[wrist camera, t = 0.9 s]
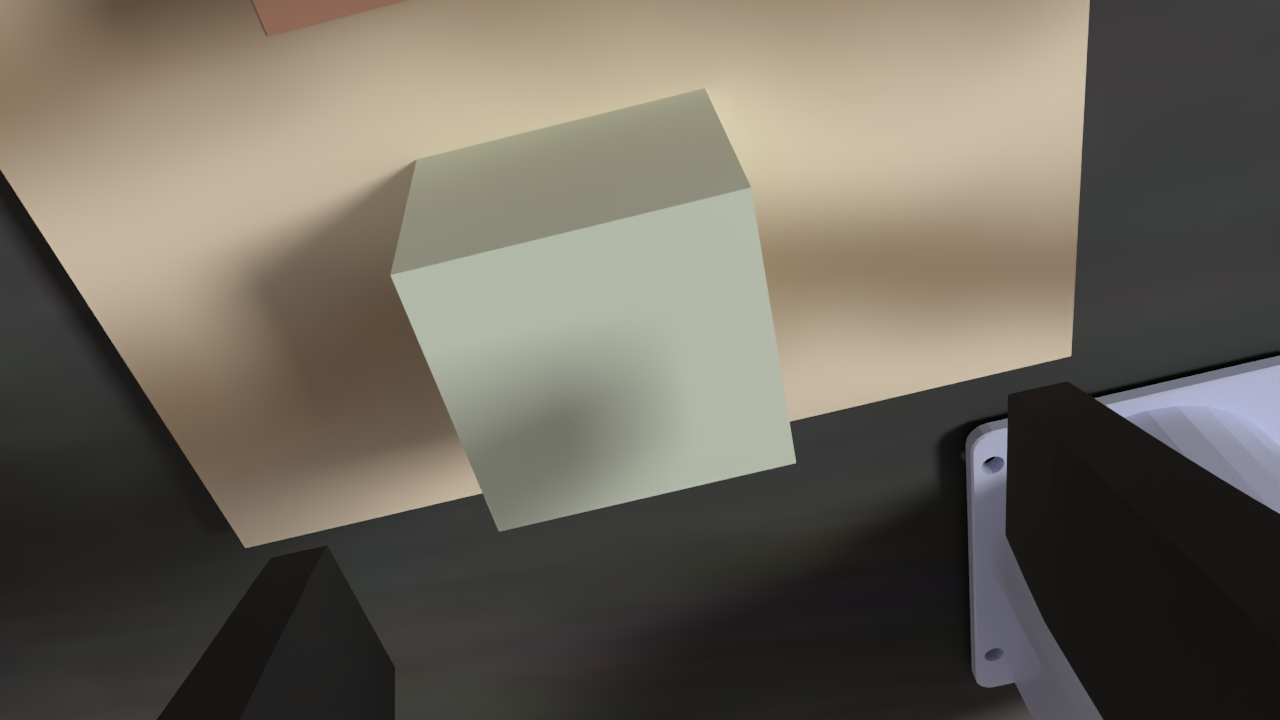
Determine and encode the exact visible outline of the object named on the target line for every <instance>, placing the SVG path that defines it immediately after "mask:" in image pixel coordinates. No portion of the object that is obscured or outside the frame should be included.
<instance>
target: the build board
mask: <svg viewBox="0 0 1280 720" xmlns="http://www.w3.org/2000/svg"><path fill="white" fill-rule="evenodd" d="M1089 3H1090V0H0V170H1V171H2V173H3V174H4V176H5V177H6V179H7V180H8V182H9V183H10V185H11V187H12V188H13V190H14V191H15V193H16V194H17V196H18V197H19V199H20V200H21V202H22V204H23V205H24V207H25V208H26V210H27V211H28V213H29V214H30V216H31V217H32V219H33V221H34V222H35V224H36V225H37V227H38V228H39V230H40V231H41V233H42V234H43V236H44V238H45V239H46V241H47V242H48V244H49V245H50V247H51V248H52V250H53V251H54V253H55V255H56V256H57V258H58V259H59V261H60V262H61V264H62V265H63V267H64V269H65V270H66V272H67V273H68V275H69V276H70V278H71V279H72V281H73V282H74V284H75V286H76V287H77V289H78V290H79V292H80V293H81V295H82V296H83V298H84V299H85V301H86V303H87V304H88V306H89V307H90V309H91V310H92V312H93V313H94V315H95V316H96V318H97V320H98V321H99V323H100V324H101V326H102V327H103V329H104V330H105V332H106V333H107V335H108V337H109V338H110V340H111V341H112V343H113V344H114V346H115V347H116V349H117V350H118V352H119V354H120V355H121V357H122V358H123V360H124V361H125V363H126V364H127V366H128V368H129V369H130V371H131V372H132V374H133V375H134V377H135V378H136V380H137V381H138V383H139V385H140V386H141V388H142V389H143V391H144V392H145V394H146V395H147V397H148V398H149V400H150V402H151V403H152V405H153V406H154V408H155V409H156V411H157V412H158V414H159V415H160V417H161V419H162V420H163V422H164V423H165V425H166V426H167V428H168V429H169V431H170V432H171V434H172V436H173V437H174V439H175V440H176V442H177V443H178V445H179V446H180V448H181V449H182V451H183V453H184V454H185V456H186V457H187V459H188V460H189V462H190V463H191V465H192V467H193V468H194V470H195V471H196V473H197V474H198V476H199V477H200V479H201V480H202V482H203V484H204V485H205V487H206V488H207V490H208V491H209V493H210V494H211V496H212V497H213V499H214V501H215V502H216V504H217V505H218V507H219V508H220V510H221V511H222V513H223V514H224V516H225V518H226V519H227V521H228V522H229V524H230V525H231V527H232V528H233V530H234V531H235V533H236V535H237V536H238V538H239V539H240V541H241V542H242V544H243V545H244V547H245V548H249V547H253V546H257V545H262V544H266V543H270V542H275V541H279V540H283V539H287V538H292V537H296V536H300V535H305V534H309V533H313V532H318V531H322V530H326V529H330V528H335V527H339V526H343V525H348V524H352V523H356V522H361V521H365V520H369V519H373V518H378V517H382V516H386V515H391V514H395V513H399V512H403V511H408V510H412V509H416V508H421V507H425V506H429V505H434V504H438V503H442V502H446V501H451V500H455V499H459V498H464V497H468V496H472V495H477V494H481V493H482V491H481V488H480V486H479V483H478V481H477V479H476V476H475V474H474V472H473V469H472V467H471V465H470V462H469V460H468V457H467V455H466V453H465V450H464V448H463V446H462V443H461V441H460V439H459V436H458V434H457V431H456V429H455V427H454V424H453V422H452V420H451V417H450V415H449V413H448V410H447V408H446V406H445V403H444V401H443V398H442V396H441V394H440V391H439V389H438V387H437V384H436V382H435V380H434V377H433V375H432V372H431V370H430V368H429V365H428V363H427V361H426V358H425V356H424V354H423V351H422V349H421V346H420V344H419V342H418V339H417V337H416V335H415V332H414V330H413V328H412V325H411V323H410V320H409V318H408V316H407V313H406V311H405V309H404V306H403V304H402V302H401V299H400V297H399V294H398V292H397V290H396V287H395V285H394V283H393V280H392V278H391V276H390V274H391V270H392V266H393V261H394V257H395V252H396V248H397V244H398V239H399V235H400V230H401V226H402V222H403V217H404V213H405V208H406V204H407V200H408V195H409V191H410V186H411V182H412V178H413V173H414V169H415V165H416V160H417V159H420V158H424V157H428V156H432V155H436V154H440V153H444V152H448V151H452V150H457V149H461V148H465V147H469V146H473V145H477V144H481V143H485V142H489V141H493V140H497V139H501V138H505V137H509V136H513V135H517V134H521V133H525V132H529V131H533V130H537V129H541V128H545V127H549V126H554V125H558V124H562V123H566V122H570V121H574V120H578V119H582V118H586V117H590V116H594V115H598V114H602V113H606V112H610V111H614V110H618V109H622V108H626V107H630V106H634V105H638V104H642V103H646V102H651V101H655V100H659V99H663V98H667V97H671V96H675V95H679V94H683V93H687V92H691V91H695V90H699V89H703V88H705V89H706V92H707V94H708V96H709V98H710V100H711V102H712V104H713V107H714V109H715V111H716V113H717V115H718V117H719V119H720V122H721V124H722V126H723V128H724V130H725V132H726V134H727V137H728V139H729V141H730V143H731V145H732V147H733V150H734V152H735V154H736V156H737V158H738V160H739V162H740V165H741V167H742V169H743V171H744V173H745V175H746V177H747V180H748V182H749V184H750V186H751V189H752V195H753V201H754V208H755V214H756V220H757V226H758V232H759V238H760V244H761V251H762V257H763V263H764V269H765V275H766V281H767V287H768V294H769V300H770V306H771V312H772V318H773V324H774V330H775V336H776V343H777V349H778V355H779V361H780V367H781V373H782V379H783V386H784V392H785V398H786V404H787V410H788V416H789V422H790V421H794V420H799V419H803V418H807V417H812V416H816V415H820V414H825V413H829V412H833V411H837V410H842V409H846V408H850V407H855V406H859V405H863V404H868V403H872V402H876V401H880V400H885V399H889V398H893V397H898V396H902V395H906V394H911V393H915V392H919V391H923V390H928V389H932V388H936V387H941V386H945V385H949V384H953V383H958V382H962V381H966V380H971V379H975V378H979V377H984V376H988V375H992V374H996V373H1001V372H1005V371H1009V370H1014V369H1018V368H1022V367H1027V366H1031V365H1035V364H1039V363H1044V362H1048V361H1052V360H1057V359H1061V358H1065V357H1069V356H1071V349H1072V330H1073V311H1074V291H1075V272H1076V253H1077V234H1078V215H1079V195H1080V176H1081V157H1082V138H1083V119H1084V99H1085V80H1086V61H1087V42H1088V23H1089Z"/></svg>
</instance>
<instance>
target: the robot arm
mask: <svg viewBox="0 0 1280 720" xmlns="http://www.w3.org/2000/svg"><path fill="white" fill-rule="evenodd" d="M991 457H995V458H994V459H993V460H992V461H989V462H987V463H984V462H985V461H986V460H987V459H989V458H991ZM966 480H967V517H968V553H969V590H970V626H971V663H972V673H973V675H974V677H975V680H976V682H977V684H979V685H980V686H983V687H996V686H1001V685H1005V684H1010V683H1014V682H1015V684H1016V686H1017V688H1018V690H1019V692H1020V694H1021V696H1022V698H1023V700H1024V702H1025V704H1026V706H1027V708H1028V710H1029V712H1030V714H1031V716H1032V718H1033V720H1280V356H1275V357H1271V358H1267V359H1262V360H1258V361H1254V362H1249V363H1245V364H1241V365H1236V366H1232V367H1228V368H1223V369H1219V370H1215V371H1210V372H1206V373H1202V374H1197V375H1193V376H1189V377H1184V378H1180V379H1176V380H1171V381H1167V382H1163V383H1158V384H1154V385H1150V386H1145V387H1141V388H1137V389H1132V390H1128V391H1124V392H1119V393H1115V394H1111V395H1106V396H1102V397H1098V398H1093V397H1091V396H1090V395H1088V394H1087V393H1085V392H1084V391H1082V390H1080V389H1079V388H1077V387H1076V386H1074V385H1072V384H1071V383H1069V382H1063V383H1059V384H1054V385H1050V386H1045V387H1041V388H1036V389H1032V390H1027V391H1023V392H1018V393H1014V394H1009V395H1008V418H1007V419H1002V420H998V421H994V422H989V423H986V424H983V425H980V426H978V427H977V428H975V429H974V430H973V431H972V432H971V433H970V434H969V436H968V437H967V440H966ZM157 720H395V667H394V665H393V663H392V661H391V660H390V658H389V656H388V654H387V652H386V651H385V649H384V647H383V645H382V643H381V642H380V640H379V638H378V636H377V634H376V633H375V631H374V629H373V627H372V625H371V624H370V622H369V620H368V618H367V616H366V615H365V613H364V611H363V609H362V607H361V606H360V604H359V602H358V600H357V598H356V597H355V595H354V593H353V591H352V589H351V588H350V586H349V584H348V582H347V580H346V579H345V577H344V575H343V573H342V571H341V570H340V568H339V566H338V564H337V562H336V561H335V559H334V557H333V555H332V553H331V552H330V550H329V548H328V546H323V547H318V548H314V549H309V550H305V551H300V552H296V553H291V554H287V555H282V556H278V557H273V558H271V559H270V561H269V562H268V563H267V565H266V566H265V567H264V569H263V570H262V571H261V573H260V574H259V575H258V577H257V578H256V580H255V581H254V582H253V584H252V585H251V587H250V588H249V589H248V591H247V592H246V594H245V595H244V596H243V598H242V599H241V601H240V602H239V604H238V605H237V607H236V608H235V609H234V611H233V612H232V614H231V615H230V617H229V618H228V620H227V621H226V622H225V624H224V625H223V627H222V628H221V630H220V631H219V633H218V634H217V635H216V637H215V638H214V640H213V641H212V643H211V644H210V646H209V647H208V648H207V650H206V651H205V653H204V654H203V656H202V657H201V658H200V660H199V661H198V663H197V664H196V666H195V667H194V668H193V670H192V671H191V673H190V674H189V675H188V677H187V678H186V680H185V681H184V682H183V684H182V685H181V687H180V688H179V689H178V691H177V692H176V694H175V695H174V696H173V698H172V699H171V701H170V702H169V703H168V705H167V706H166V708H165V709H164V710H163V712H162V713H161V715H160V716H159V717H158V719H157Z"/></svg>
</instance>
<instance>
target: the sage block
mask: <svg viewBox="0 0 1280 720" xmlns="http://www.w3.org/2000/svg"><path fill="white" fill-rule="evenodd" d="M390 276H391V278H392V280H393V283H394V285H395V287H396V290H397V292H398V294H399V297H400V299H401V302H402V304H403V306H404V309H405V311H406V313H407V316H408V318H409V320H410V323H411V325H412V328H413V330H414V332H415V335H416V337H417V339H418V342H419V344H420V346H421V349H422V351H423V354H424V356H425V358H426V361H427V363H428V365H429V368H430V370H431V372H432V375H433V377H434V380H435V382H436V384H437V387H438V389H439V391H440V394H441V396H442V398H443V401H444V403H445V406H446V408H447V410H448V413H449V415H450V417H451V420H452V422H453V424H454V427H455V429H456V431H457V434H458V436H459V439H460V441H461V443H462V446H463V448H464V450H465V453H466V455H467V457H468V460H469V462H470V465H471V467H472V469H473V472H474V474H475V476H476V479H477V481H478V483H479V486H480V488H481V491H482V493H483V495H484V498H485V500H486V502H487V505H488V507H489V509H490V512H491V514H492V517H493V519H494V521H495V524H496V526H497V528H498V531H504V530H508V529H512V528H517V527H521V526H525V525H530V524H534V523H538V522H543V521H547V520H551V519H556V518H560V517H564V516H569V515H573V514H577V513H582V512H586V511H590V510H595V509H599V508H603V507H608V506H612V505H616V504H621V503H625V502H629V501H634V500H638V499H642V498H647V497H651V496H655V495H660V494H664V493H668V492H673V491H677V490H681V489H686V488H690V487H694V486H699V485H703V484H707V483H712V482H716V481H720V480H725V479H729V478H733V477H738V476H742V475H746V474H751V473H755V472H759V471H764V470H768V469H772V468H777V467H781V466H785V465H790V464H794V463H796V459H795V453H794V447H793V441H792V435H791V429H790V422H789V416H788V410H787V404H786V398H785V392H784V386H783V379H782V373H781V367H780V361H779V355H778V349H777V343H776V336H775V330H774V324H773V318H772V312H771V306H770V300H769V294H768V287H767V281H766V275H765V269H764V263H763V257H762V251H761V244H760V238H759V232H758V226H757V220H756V214H755V208H754V201H753V195H752V189H751V186H750V184H749V182H748V180H747V177H746V175H745V173H744V171H743V169H742V167H741V165H740V162H739V160H738V158H737V156H736V154H735V152H734V150H733V147H732V145H731V143H730V141H729V139H728V137H727V134H726V132H725V130H724V128H723V126H722V124H721V122H720V119H719V117H718V115H717V113H716V111H715V109H714V107H713V104H712V102H711V100H710V98H709V96H708V94H707V92H706V89H705V88H703V89H699V90H695V91H691V92H687V93H683V94H679V95H675V96H671V97H667V98H663V99H659V100H655V101H651V102H646V103H642V104H638V105H634V106H630V107H626V108H622V109H618V110H614V111H610V112H606V113H602V114H598V115H594V116H590V117H586V118H582V119H578V120H574V121H570V122H566V123H562V124H558V125H554V126H549V127H545V128H541V129H537V130H533V131H529V132H525V133H521V134H517V135H513V136H509V137H505V138H501V139H497V140H493V141H489V142H485V143H481V144H477V145H473V146H469V147H465V148H461V149H457V150H452V151H448V152H444V153H440V154H436V155H432V156H428V157H424V158H420V159H417V160H416V165H415V169H414V173H413V178H412V182H411V186H410V191H409V195H408V200H407V204H406V208H405V213H404V217H403V222H402V226H401V230H400V235H399V239H398V244H397V248H396V252H395V257H394V261H393V266H392V270H391V274H390Z"/></svg>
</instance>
